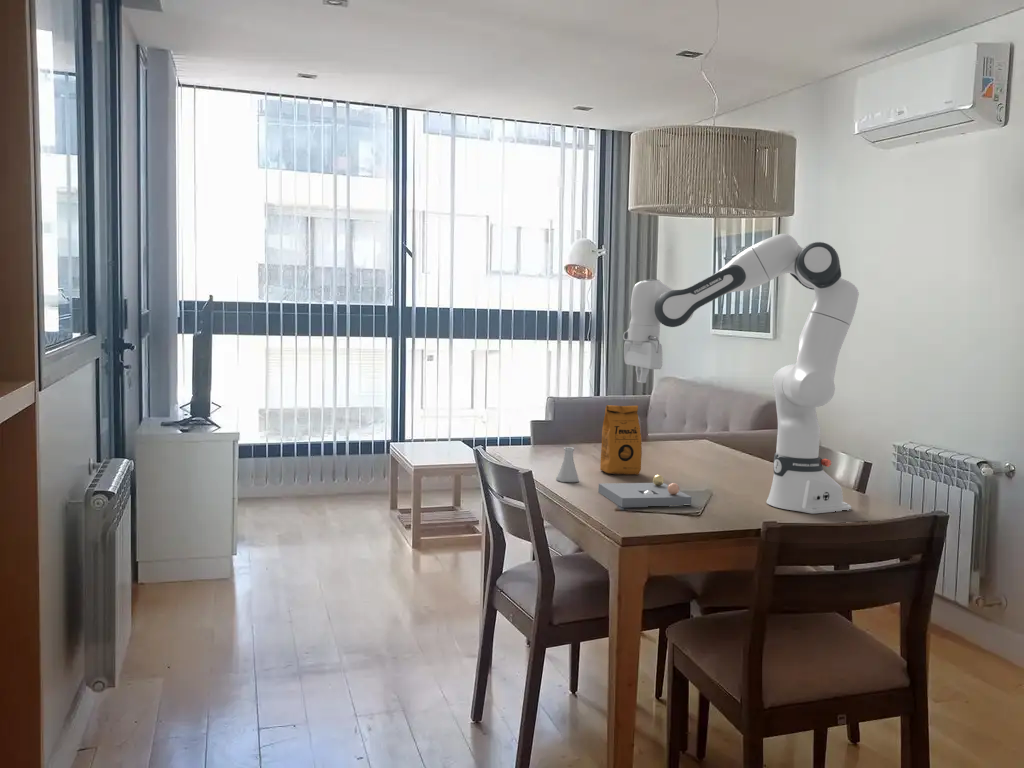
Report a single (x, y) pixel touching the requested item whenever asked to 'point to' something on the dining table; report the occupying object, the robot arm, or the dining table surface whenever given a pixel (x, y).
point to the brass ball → (658, 480)
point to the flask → (568, 467)
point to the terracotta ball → (673, 488)
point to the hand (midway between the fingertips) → (641, 382)
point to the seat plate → (642, 495)
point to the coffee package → (621, 441)
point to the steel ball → (648, 492)
